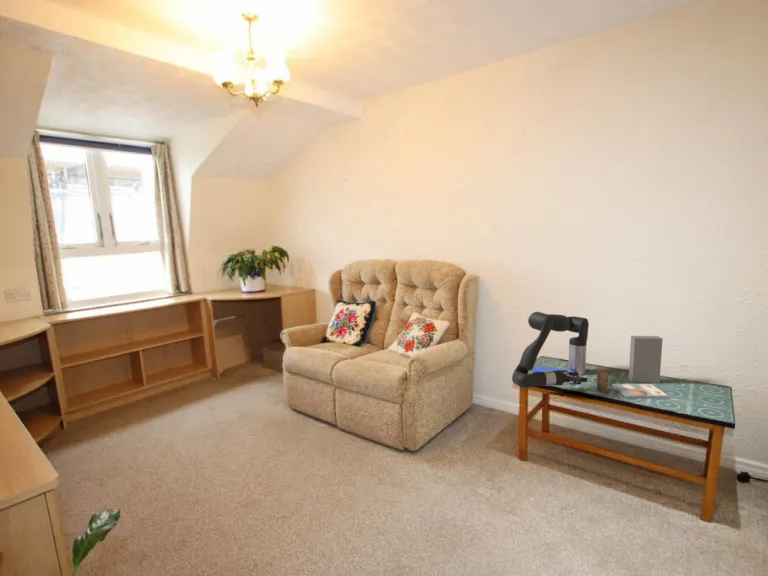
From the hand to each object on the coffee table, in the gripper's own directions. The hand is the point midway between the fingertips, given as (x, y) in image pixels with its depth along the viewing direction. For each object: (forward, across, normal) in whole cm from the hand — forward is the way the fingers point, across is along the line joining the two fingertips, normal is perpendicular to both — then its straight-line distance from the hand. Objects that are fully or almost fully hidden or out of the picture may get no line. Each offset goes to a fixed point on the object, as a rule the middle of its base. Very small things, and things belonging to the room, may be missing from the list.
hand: (582, 376), depth 214 cm
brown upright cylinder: (+11, 0, +8) cm, 14 cm away
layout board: (+29, -4, +8) cm, 30 cm away
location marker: (-2, +26, +9) cm, 28 cm away
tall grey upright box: (+42, +10, +8) cm, 44 cm away
